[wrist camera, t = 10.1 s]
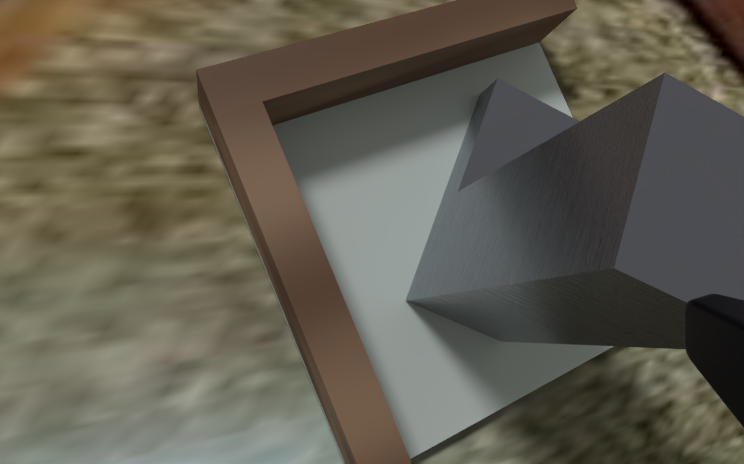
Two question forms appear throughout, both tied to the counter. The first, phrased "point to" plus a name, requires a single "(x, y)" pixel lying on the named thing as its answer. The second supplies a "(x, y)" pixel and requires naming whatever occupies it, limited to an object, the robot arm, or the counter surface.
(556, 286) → the bracket
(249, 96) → the corner walls
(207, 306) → the counter surface
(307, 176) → the mat
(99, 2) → the counter surface
